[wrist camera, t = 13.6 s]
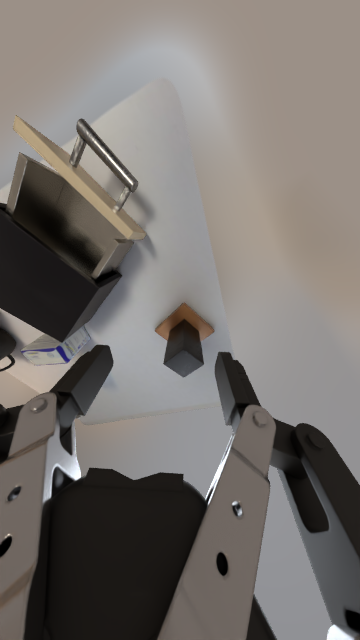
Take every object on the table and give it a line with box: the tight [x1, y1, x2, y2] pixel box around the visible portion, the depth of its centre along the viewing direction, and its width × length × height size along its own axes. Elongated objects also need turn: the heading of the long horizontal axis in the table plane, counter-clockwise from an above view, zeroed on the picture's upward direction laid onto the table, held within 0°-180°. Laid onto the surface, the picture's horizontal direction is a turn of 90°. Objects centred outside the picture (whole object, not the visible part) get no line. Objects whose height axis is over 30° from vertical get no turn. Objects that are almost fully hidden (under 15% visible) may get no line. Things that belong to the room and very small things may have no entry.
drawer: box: [5, 115, 146, 283], centre depth 20 cm, size 18×13×7 cm
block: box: [163, 319, 204, 378], centre depth 28 cm, size 5×5×10 cm
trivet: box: [155, 302, 214, 341], centre depth 33 cm, size 10×10×1 cm
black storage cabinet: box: [0, 203, 122, 343], centre depth 24 cm, size 15×15×9 cm
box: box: [21, 326, 90, 365], centre depth 32 cm, size 8×4×9 cm, turn 98°
